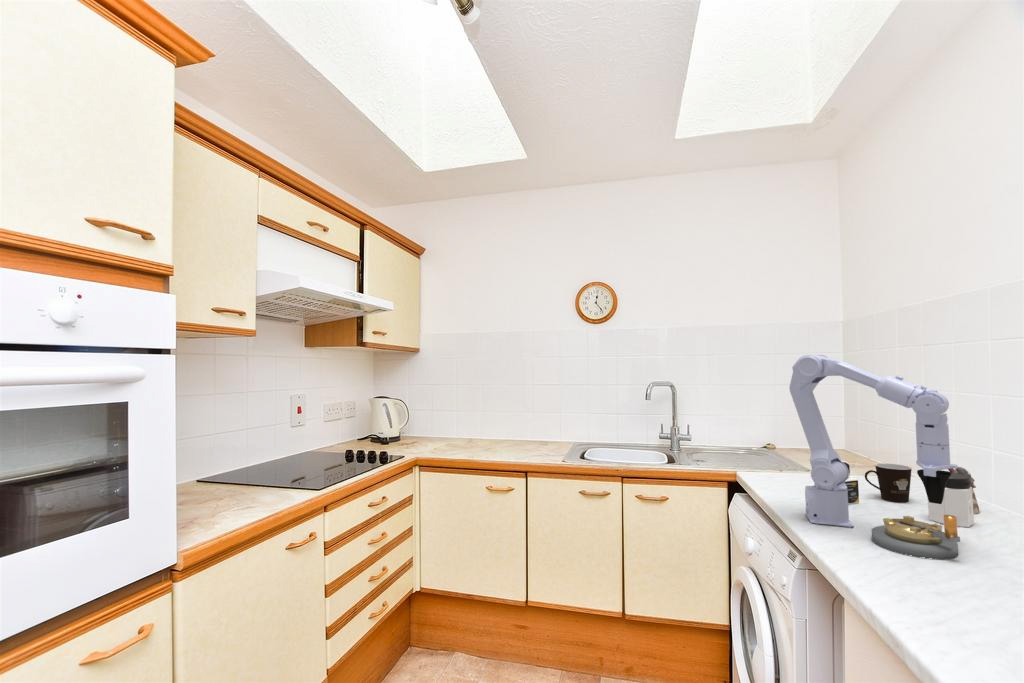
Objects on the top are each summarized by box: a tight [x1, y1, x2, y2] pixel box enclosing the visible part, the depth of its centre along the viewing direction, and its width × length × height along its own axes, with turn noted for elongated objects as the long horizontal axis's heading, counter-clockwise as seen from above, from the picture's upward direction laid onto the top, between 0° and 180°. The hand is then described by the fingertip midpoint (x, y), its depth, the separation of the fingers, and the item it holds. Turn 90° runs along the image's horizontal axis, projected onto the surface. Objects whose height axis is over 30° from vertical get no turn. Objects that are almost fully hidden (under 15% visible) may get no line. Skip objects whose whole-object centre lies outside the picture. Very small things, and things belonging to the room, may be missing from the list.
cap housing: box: [870, 525, 959, 560], centre depth 107 cm, size 15×15×2 cm
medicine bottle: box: [841, 460, 860, 505], centre depth 142 cm, size 7×7×12 cm
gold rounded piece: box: [882, 515, 961, 545], centre depth 106 cm, size 14×10×7 cm
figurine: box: [947, 466, 981, 515], centre depth 132 cm, size 7×7×12 cm
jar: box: [927, 473, 975, 528], centre depth 123 cm, size 9×8×12 cm
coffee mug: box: [864, 463, 913, 504], centre depth 143 cm, size 12×9×10 cm
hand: (935, 502), depth 109 cm, fingers closed
